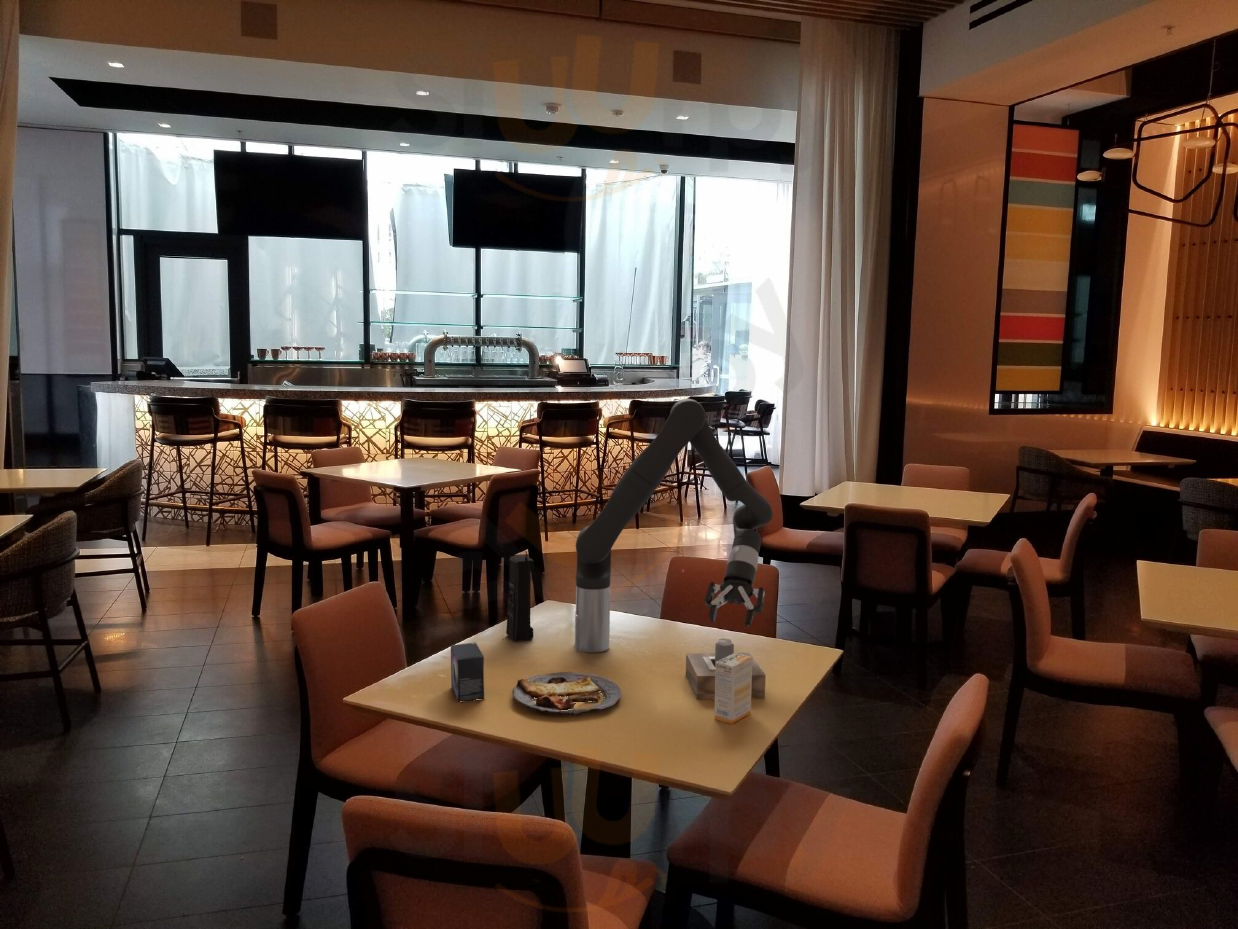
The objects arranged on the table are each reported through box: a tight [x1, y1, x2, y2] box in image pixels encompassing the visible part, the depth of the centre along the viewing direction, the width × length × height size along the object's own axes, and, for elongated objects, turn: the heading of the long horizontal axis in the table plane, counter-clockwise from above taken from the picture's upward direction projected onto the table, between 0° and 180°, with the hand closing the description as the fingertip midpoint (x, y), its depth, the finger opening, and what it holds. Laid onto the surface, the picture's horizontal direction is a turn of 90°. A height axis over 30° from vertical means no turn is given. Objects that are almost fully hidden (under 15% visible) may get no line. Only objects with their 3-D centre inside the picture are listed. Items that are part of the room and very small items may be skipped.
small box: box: [450, 642, 485, 703], centre depth 208 cm, size 11×6×10 cm, turn 19°
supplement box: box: [713, 652, 753, 725], centre depth 197 cm, size 8×5×13 cm, turn 141°
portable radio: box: [505, 550, 535, 643], centre depth 250 cm, size 8×6×25 cm
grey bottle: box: [714, 638, 735, 662], centre depth 216 cm, size 4×4×10 cm
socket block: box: [685, 652, 766, 700], centre depth 216 cm, size 16×16×6 cm
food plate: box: [512, 671, 622, 715], centre depth 207 cm, size 25×23×4 cm
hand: (729, 623), depth 219 cm, fingers open, 8 cm apart
